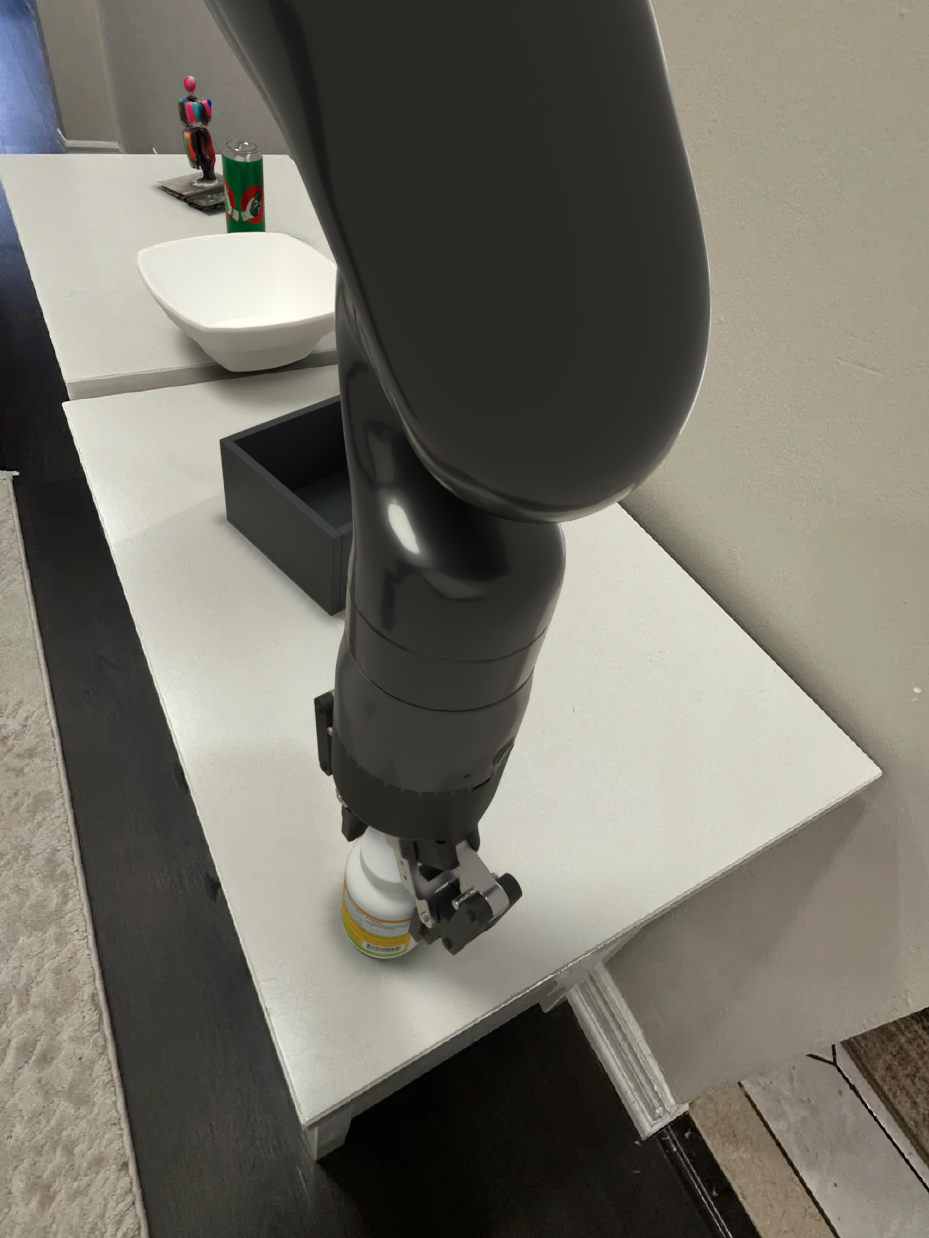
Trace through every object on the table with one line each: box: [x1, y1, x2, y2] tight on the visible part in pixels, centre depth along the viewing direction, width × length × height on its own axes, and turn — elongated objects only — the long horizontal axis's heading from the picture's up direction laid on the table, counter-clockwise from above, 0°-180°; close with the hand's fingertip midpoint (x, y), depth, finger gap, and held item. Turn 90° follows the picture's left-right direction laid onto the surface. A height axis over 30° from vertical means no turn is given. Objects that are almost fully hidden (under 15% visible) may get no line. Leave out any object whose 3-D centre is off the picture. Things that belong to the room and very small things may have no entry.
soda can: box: [220, 139, 267, 234], centre depth 100 cm, size 5×5×12 cm
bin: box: [218, 393, 353, 617], centre depth 66 cm, size 15×15×9 cm
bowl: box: [136, 231, 337, 373], centre depth 84 cm, size 21×21×9 cm
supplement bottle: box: [341, 826, 441, 959], centre depth 44 cm, size 5×5×10 cm
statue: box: [157, 75, 225, 210], centre depth 108 cm, size 11×9×15 cm
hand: (393, 876), depth 43 cm, fingers open, 6 cm apart
